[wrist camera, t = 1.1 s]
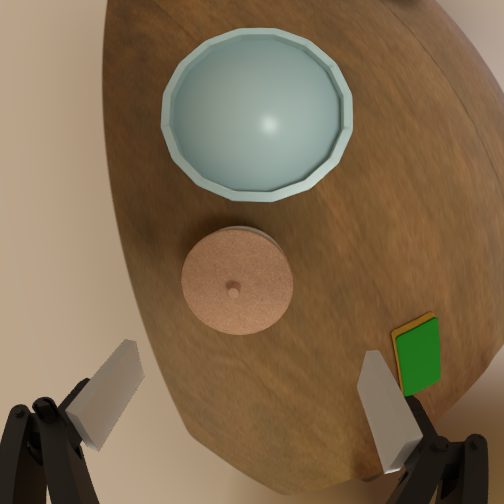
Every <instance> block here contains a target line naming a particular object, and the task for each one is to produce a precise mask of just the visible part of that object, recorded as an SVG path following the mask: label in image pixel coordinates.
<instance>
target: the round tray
mask: <svg viewBox="0 0 504 504" xmlns="http://www.w3.org/2000/svg"><path fill="white" fill-rule="evenodd" d="M351 95H352V94H351V92H350V90H349V88H348V86H347V83H346V81H345V79H344V77H343V75H342V73H341V71H340V69H339V67H338V65H337V64H336V63H335V62H334V61H333V60H332V59H331V58H330V57H329V56H327V55H326V54H325V53H324V52H323V51H322V50H321V49H319V48H318V47H317V46H316V45H315V44H313V43H312V42H311V41H309V40H307V39H305V38H302V37H299V36H297V35H294V34H291V33H288V32H285V31H282V30H279V29H275V28H240V30H239V29H236V30H233V31H230V32H227V33H225V34H222V35H219V36H216V37H214V38H211V39H209V40H206V41H205V42H203V43H202V44H201V45H200V46H199V47H197V48H196V49H195V50H194V51H193V52H191V53H190V54H189V55H188V56H187V57H186V58H185V59H183V60H182V61H181V62H180V63H179V64H178V66H177V68H176V70H175V72H174V74H173V75H172V77H171V79H170V81H169V83H168V85H167V87H166V89H165V91H164V93H163V101H162V114H161V130H162V133H163V135H164V138H165V141H166V144H167V146H168V149H169V152H170V155H171V157H172V159H173V161H174V162H175V163H176V164H177V165H178V166H179V167H180V168H181V169H182V170H183V171H184V172H185V173H186V174H187V175H188V176H189V177H190V178H191V179H192V180H193V181H194V182H195V184H196V185H198V186H200V187H202V188H204V189H207V190H209V191H211V192H214V193H216V194H218V195H221V196H223V197H225V198H227V199H230V200H232V201H257V202H272V201H273V202H274V201H277V200H280V199H282V198H285V197H288V196H291V195H294V194H297V193H299V192H302V191H305V190H308V189H309V188H311V187H313V186H314V185H315V184H316V183H317V182H318V181H319V180H320V179H321V178H323V177H324V176H325V175H326V174H327V173H328V172H329V171H330V170H331V169H333V168H334V167H335V166H336V165H337V164H338V163H339V161H340V158H341V156H342V154H343V152H344V149H345V147H346V145H347V143H348V140H349V138H350V136H351V134H352V131H353V108H352V96H351Z"/></svg>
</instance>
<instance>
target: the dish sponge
mask: <svg viewBox="0 0 504 504" xmlns="http://www.w3.org/2000/svg"><path fill="white" fill-rule="evenodd" d="M391 335H392V340H393V345H394V350H395V356H396V361H397V367H398V374H399V380H400V387H401V392H402V394H403V395H404V397H405V396H410V395H412V394H414V393H416V392H418V391H420V390H422V389H424V388H426V387H428V386H430V385H432V384H434V383H435V382H437V381H439V380H440V341H439V326H438V318H437V317H436V316H435V315H434V314H433V313H431V312H429V313H427V314H425V315H423V316H421V317H419V318H417V319H416V320H414V321H412V322H410V323H408V324H406V325H404V326H402V327H400V328H397V329H395V330H393V331H392V333H391Z"/></svg>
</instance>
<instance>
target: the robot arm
mask: <svg viewBox="0 0 504 504" xmlns="http://www.w3.org/2000/svg"><path fill="white" fill-rule="evenodd" d="M143 378H144V373H143V369H142V365H141V361H140V357H139V353H138V348H137V344H136V341H132V340H126V339H125V340H124V341H123V342H122V343H121V345H120V346H119V347H118V348H117V349H116V350H115V352H114V353H113V354H112V355H111V356H110V357H109V358H108V360H107V361H106V362H105V363H104V364H103V365H102V367H101V368H100V369H99V370H98V371H97V372H96V374H95V375H94V376H93V377H92V378H91V379H89V378H85V379H84V380H82V381H80V382H79V383H78V384H77V385H76V387H75V388H74V389H73V390H72V391H71V392H70V394H69V395H68V396H67V397H66V398H65V399H64V401H63V402H62V403H61V404H60V405H59V406H58V408H57V406H56V404H55V402H54V400H52V399H51V398H49V397H42V398H38V399H37V400H36V401H35V402H34V403H33V406H32V408H33V410H34V411H35V413H31V412H30V410H29V409H28V407H27V406H26V405H23V404H19V405H16V406H14V407H13V408H12V409H11V411H10V413H9V416H8V419H7V422H6V425H5V429H4V432H3V435H2V439H1V443H0V504H46V491H47V486H48V491H49V495H50V500H51V503H52V504H99V501H98V498H97V496H96V493H95V490H94V487H93V484H92V481H91V478H90V475H89V472H88V469H87V466H86V462H85V458H84V455H83V451H82V447H81V446H80V443H81V441H82V440H83V442H84V443H85V444H86V446H87V447H89V448H91V449H93V450H96V451H98V452H99V451H100V449H101V448H102V446H103V444H104V443H105V441H106V439H107V437H108V436H109V434H110V432H111V431H112V429H113V427H114V426H115V424H116V422H117V421H118V419H119V417H120V416H121V414H122V412H123V411H124V409H125V408H126V406H127V404H128V402H129V401H130V399H131V398H132V396H133V395H134V393H135V391H136V390H137V388H138V386H139V385H140V383H141V382H142V380H143ZM357 390H358V392H359V395H360V398H361V401H362V404H363V407H364V410H365V413H366V416H367V419H368V422H369V425H370V428H371V431H372V434H373V437H374V440H375V444H376V447H377V450H378V453H379V457H380V460H381V463H382V467H383V470H384V474H386V473H391V472H395V471H399V470H400V469H401V467H402V466H403V465H405V468H406V471H405V472H404V473H403V475H402V476H401V477H400V478H399V479H398V480H399V483H398V484H397V486H396V488H395V490H394V491H393V493H392V494H391V496H390V498H389V499H388V501H387V502H386V504H429V503H430V501H431V498H432V496H433V494H434V492H435V490H436V487H437V485H438V489H437V496H436V501H435V504H487V503H488V448H487V441H486V439H485V438H484V437H483V436H481V435H480V434H471V435H470V436H468V437H467V439H466V440H465V441H464V442H449V441H448V439H447V438H445V437H443V436H438V435H437V433H436V431H435V429H434V427H433V425H432V423H431V422H430V420H429V418H428V416H427V415H426V412H425V410H424V409H423V407H422V405H421V403H420V401H419V400H418V399H416V398H415V397H414V396H413V395H410V396H405V397H404V396H403V394H402V392H401V390H400V389H399V387H398V385H397V383H396V381H395V379H394V377H393V375H392V374H391V372H390V370H389V368H388V366H387V364H386V363H385V361H384V359H383V357H382V355H381V354H380V352H379V350H374V351H366V354H365V359H364V362H363V366H362V370H361V374H360V377H359V381H358V384H357Z"/></svg>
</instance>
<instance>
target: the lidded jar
mask: <svg viewBox="0 0 504 504" xmlns="http://www.w3.org/2000/svg"><path fill="white" fill-rule="evenodd" d="M181 285H182V291H183V294H184V297H185V300H186V302H187V304H188V306H189V307H190V309H191V310H192V312H193V313H194V314H195V315H196V316H197V317H198V318H199V319H200V320H201V321H202V322H204V323H205V324H206V325H208V326H210V327H211V328H213V329H216V330H218V331H220V332H224V333H228V334H235V335H246V334H252V333H256V332H259V331H262V330H264V329H266V328H268V327H270V326H271V325H272V324H274V323H275V322H276V321H277V320H278V319H280V318H281V316H282V315H283V314H284V312H285V311H286V309H287V307H288V306H289V304H290V301H291V298H292V293H293V276H292V271H291V267H290V265H289V262H288V260H287V258H286V255H285V254H284V252H283V250H282V248H281V247H280V246H279V245H278V244H277V242H276V241H275V240H274V239H273V238H271V237H270V236H269V235H268V234H266V233H264V232H263V231H260V230H258V229H256V228H252V227H248V226H231V227H226V228H222V229H220V230H218V231H215V232H214V233H211V234H209V235H208V236H206V237H204V238H203V239H201V240H200V241H199V242H198V243H197V244H196V245H195V246H194V247H193V248H192V249H191V251H190V252H189V254H188V255H187V257H186V259H185V262H184V265H183V268H182V274H181Z"/></svg>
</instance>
